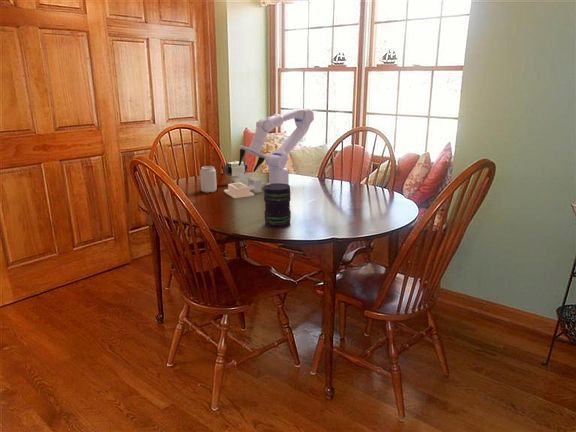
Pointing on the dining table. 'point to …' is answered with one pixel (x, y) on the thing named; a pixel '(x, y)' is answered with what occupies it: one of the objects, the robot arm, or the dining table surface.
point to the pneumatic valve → (235, 170)
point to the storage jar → (277, 205)
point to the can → (208, 179)
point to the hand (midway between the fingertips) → (246, 168)
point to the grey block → (254, 184)
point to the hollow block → (238, 190)
